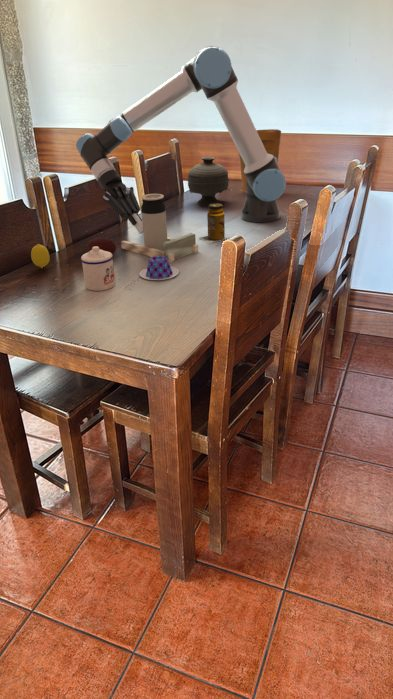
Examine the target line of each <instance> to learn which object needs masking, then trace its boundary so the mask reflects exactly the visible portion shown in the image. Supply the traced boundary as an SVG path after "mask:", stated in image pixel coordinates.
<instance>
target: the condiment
mask: <svg viewBox="0 0 393 699" xmlns="http://www.w3.org/2000/svg"><path fill="white" fill-rule="evenodd" d="M207 207H208V208H207V209H208V210H207V211H208V212H207V214H206V215H207V217H206V220H207V235H204V236H200V237H199V239H200V240H202V241H204V242H207V243H209V244H212V243H215V242H216V243H217V242H222V241H224V239H225V241H226V240H229V239H230V238H229V237H227V236H225V235H226V234H225V229H226V228H225V227H226V226H225V216H226V215H225V212H224V205H223V203H220V204H219V203H214V204H210V205H209V206H207ZM226 238H227V239H226Z"/></svg>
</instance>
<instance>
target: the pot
mask: <svg viewBox="0 0 393 699" xmlns="http://www.w3.org/2000/svg"><path fill="white" fill-rule="evenodd" d="M200 159H201V160H202V161H203V162H201V163H198V164H196V165H194V166H193V167H191V168H190V170H188V173H187V186H188V189H189V193H190V194H199V195H201V198H200V199H199V200H198V201H197V203H196V205H198V206H201V207H208V206H209V205H210V204H214V203H219V204H221V201H220V199H217V197H216V195H217V194H221V193H222V192H224V191H227V190H228V188H229V173H228V170H227V168H225V166H223V165H222V164H219V163H216V162H213V161H214V160H215V159H216V157H213V156H202V157H200Z"/></svg>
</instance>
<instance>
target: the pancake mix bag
mask: <svg viewBox="0 0 393 699" xmlns="http://www.w3.org/2000/svg"><path fill="white" fill-rule="evenodd" d="M256 131H257V133H258V135H259V137H260V139H261V141H262V143H263V145H264V148H265V150H266V152H267V153H268V154H271V155H273V156H274V157H276V158H277V163H278V164H279V157H280V156H279V154H280V144H281V138H282V136H281V135H282V130H280V129H276V128H274V129H256ZM238 158H239V159H238V160H239V168H240V178H241V183H242V187H241V188H242V189H241V193H242V194H246V175H245V173H244V169H245V164H244V162H243V160H242V157H241V155H240V153H239V152H238Z"/></svg>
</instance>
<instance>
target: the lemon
mask: <svg viewBox="0 0 393 699" xmlns="http://www.w3.org/2000/svg"><path fill="white" fill-rule="evenodd" d="M30 257H31V261H32V262H33V264H34V265H35V266H37V268H38V267H39V268H41V269H44V268H45V266H47V265H48V264H49V262H50V253H49V251H48V249H47V247H46V246H45V245H42V244H40V243H37V244H36V245H34V246H33V247H32V249H31V253H30ZM43 267H44V268H43Z"/></svg>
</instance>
